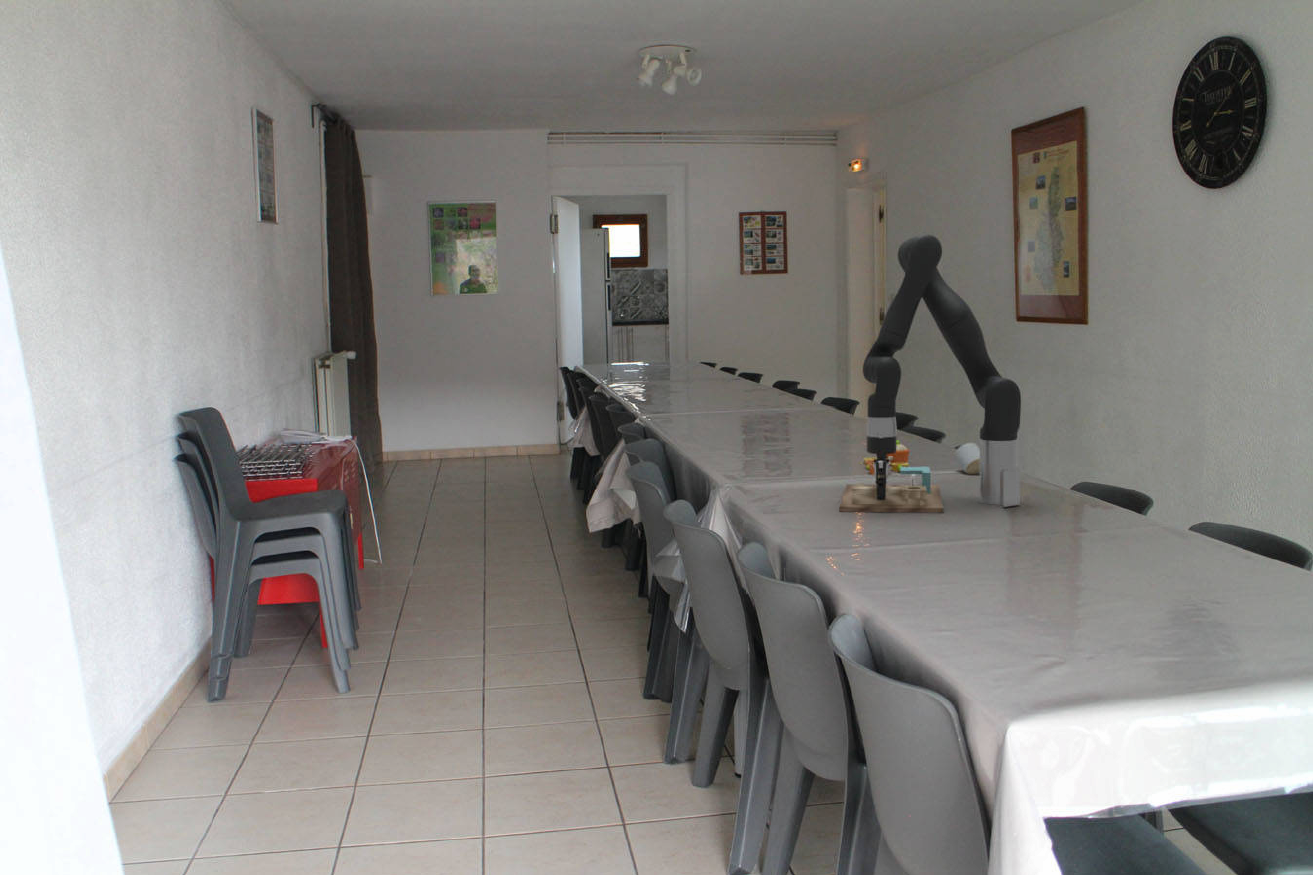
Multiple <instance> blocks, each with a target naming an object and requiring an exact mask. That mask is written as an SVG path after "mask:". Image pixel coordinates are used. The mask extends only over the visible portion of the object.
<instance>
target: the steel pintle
mask: <svg viewBox="0 0 1313 875" xmlns="http://www.w3.org/2000/svg"><path fill="white" fill-rule="evenodd" d="M917 482H918V474H910V485H911V486H917V485H918V483H917Z"/></svg>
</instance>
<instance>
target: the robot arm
mask: <svg viewBox="0 0 1313 875" xmlns="http://www.w3.org/2000/svg"><path fill="white" fill-rule="evenodd" d="M942 246H943V245H942V244H941V241H940V239H938V238H937V237H936V236H935V235H934V234H931V233H922V234H918V235H915V236H912V237H910V238H909V239H906V240H905V241H903V242H902V243H901V244H900V245H899V247H898V250H897V260H898V261H897V262H898V263H899V265H900V267H901V269H902V271H903V272H904V273H905V274H904V276H903V280H902V281H901V284H900V287H899V289H898V291H897V293H896V294H895V296H894V297H893V300H892V302H890V304H889V307H888V309H887V310H886V313H885V315H884V318H883V320H882V324H881V327H880V330H879V333H878V336H877V338H876V340H875V341H874V343H873V345H872V347H871V348H870V349H869V351H868V353H867V355H866V356H865V359H864V361H863V363H862V364H863V365H862V374H863V377H864V379H865V380H866V381H867V382H869V383H871V384H875V390H874V393H871V394H870V395H869V396H868V398H867V418H866V419H867V421H866V452H867V453H868V454H872V455H873V454H874V455H876V458H877V459H874V468H875V469H874V475H873V476H874V478H875V485H877V500H885V499H886V485H888V484H887V483H888V482H887V480H888V478H889V474H890V472H889V471H890V465H889V459H887V454H892V453H895V452H896V451H897V438H898V437H897V435H898V434H897V428H898V427H897V419H896V418H897V417H896V400H897V396H898V393H899V388H900V385H901V380H902V368H901V365H900V362H899V361H898V360H897V359H896V358H895V357H894V355H895V354H896V352H899V351H901V350H903V348H904V347H905V344H906V342H907V339H908V336H909V333H910V330H911V327H912V325H913V321H914V318H915V315H916V313H917V310H918V308H919V305H920V302H921V300H923V301H924V304H925V306H926V308H927V310H928V311H929V313H930V315H931V316H932V319H933V320H934V322H935V324H936V326H937V328H938V329H939V332H940V333H941V335H942V337H943V338H944V341H945V342H946V344H947V346H948V347H949V349H950V350H951V352H952V353H953V355H954V358H956V360H957V362H958V363H959V365H960V366H961V368H962V369H963V370H964V373H965V375H966V377H967V379H968V381H969V384H970V386H971V389H972V390H973V393H974V395H975V398H976V400H977V402H978V403H979V406H980V407H981V408H983V409H984V419H983V420H984V421H983V424H982V427H981V428H980V430H979V449H980V474H979V502H980V503H982V504H987V505H998V506H999V505H1000V506H1002V508H1008V507H1013V506H1020V504H1021V503H1020V502H1021V500H1020V499H1021V498H1020V496H1021V491H1020V490H1021V469H1020V468H1018V433H1019V430H1020V428H1021V427H1020V426H1021V410H1022V396H1021V390H1020V387H1019V385H1018V384H1017V383H1016V382H1015V381H1014V380H1012V379H1009V378H1006V377H1005V378H1004V377H1003V376H1002V375H1001V374H1000V372H999V371H998V369H997V368H996V366H995V365H994V363H993V361H992V359H991V358H990V355H989V353H988V350H987V347H986V346H987V345H986V342H985V337H984V333H983V330H982V328H981V326H980V324H979V322H978V320H977V318H976V316H975V315H974V313H973V311H972V309H971V307H969V305H968V304H967V302H966V301H965V300H964V299H963V298H962V297H961V296H960V295H959V294H958V293H957V292H956V291H955V290H953V289H952V288H951V287H950V285H949V284H948V283H947V282H946V281H945V280H944V278H943V277H942V275H941V273H940V272H939V269H938V267H937V266H938V264H939V263H940V261H941V259H942V256H943V247H942Z"/></svg>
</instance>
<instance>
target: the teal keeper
mask: <svg viewBox="0 0 1313 875" xmlns="http://www.w3.org/2000/svg"><path fill="white" fill-rule="evenodd" d="M899 474H900V475H911V474H917V475H921V485H922V486H926V493H930V485H931V468H930V466H910V467H900V472H899Z"/></svg>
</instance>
